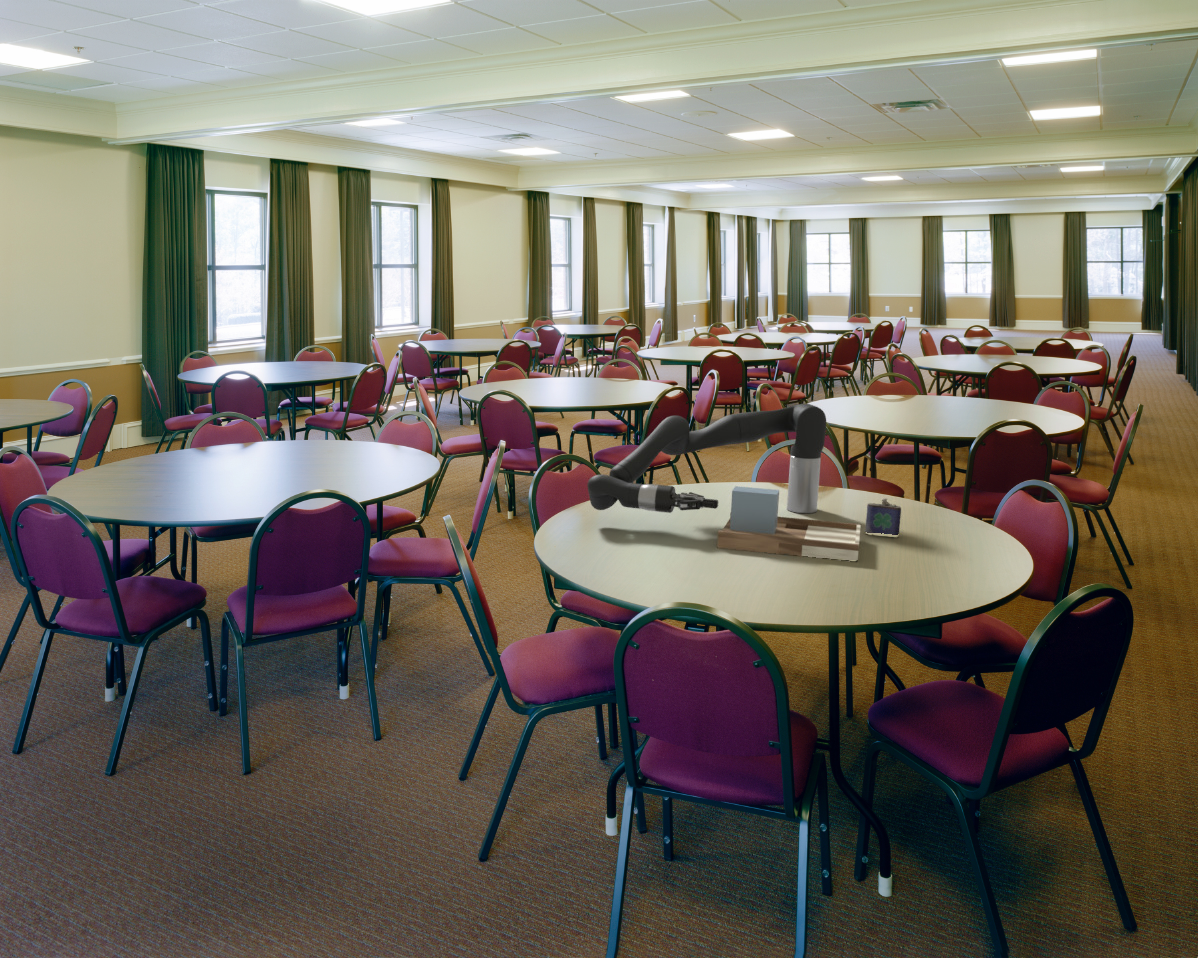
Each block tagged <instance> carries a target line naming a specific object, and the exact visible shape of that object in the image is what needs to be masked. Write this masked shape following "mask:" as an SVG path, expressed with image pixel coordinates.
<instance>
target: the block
mask: <svg viewBox="0 0 1198 958" xmlns="http://www.w3.org/2000/svg"><path fill="white" fill-rule="evenodd" d="M779 499H780V489H771V488H759V487H748V486H739V485H738V486H736V485H735V486H734V488H733V489H732V490H731V506H730V507H731V508H730V513H731V521H730V530H735V531H745V532H756V533H766V534H775V532H776V530H777V518H778V517H779V501H780V500H779Z"/></svg>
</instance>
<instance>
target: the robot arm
mask: <svg viewBox="0 0 1198 958" xmlns="http://www.w3.org/2000/svg"><path fill="white" fill-rule="evenodd" d="M826 430H827V417H826V413H825V412H824V411H823V409H821V408H820V407H818V406H816V405H813V404H810V403H800V404H795V405H792V406H788V407H783V408H779V409H773V410H759V411H757V410H756V411H748V412H747V411H746V412H740V413H739V412H738V413H733V414H732V413H731V414H728V415H725V416H723V417H721V418H720V419H718V420H716V421H713V423H710V424H709V425H708V426H706V427H704V428H701V429H697V430H692V431H691V428H690V424H689V422H688V420H687V418H684V417H683V416H681V415H670V416H667V417H666V418H665V419H663V420H662V421H661V422H660V423H659V424H658V425H657V426H656V427H655V428H654V430H653V431H652V432H651V433H649V435H648V436H647V437H646V438H645V439H644V440H643V442H642V443H641V444H640V445H638V447H636V448H635V449H634V450H633V451H632V452H630V454H628V455H627V456H626V457H625V458H623V459H622V460H621V461H620V462H618V463H617V464H616V465H614V466H613V467H612V468H611V469H610V470H609V475H608V474H596V475H593V476H591V477H590V478H589V479H588V481H587V486H586V487H587V491H588V496H589V501H590V504H591V506H592V508H594V509H595V510H597V511H604V510H608V509H610V508H611V507H612V506H614V505H615V504H616V502H619V504H620V505H621V506H622V507H623V508H628V509H629V508H631V509H639V510H644V511H650V512H656V513H657V512H659V513H667V514H671V513H673V512H674V509H675V508H678V509H679V510H680V511H691V510H693V511H695V510H700V509H704V508H707V509H718V507H719V500H718V499H712V498H706V497H705V496H704V495H702V494H698V493H695V492H692V491H691V492H680V493H677V492H676V488H675V487H674V486H672V485H664V484H663V485H662V484H654V483H653V484H652V483H645V484H644V483H643V484H642V483H635V482H636V481H637V480H638V479H639V478H640V477H641V476H643V474H644V473H645V472H646V471H647V470H648V469H649V467H650V466H651V464H652V463H653V462H654V460H655V459H656V458H657V457H658V455H659V454H660V453H661V452H662V453H663V454H665V455H669V456H680V455H684V454H689V453H693V452H697V451H701V450H702V451H703V450H706V449H710V448H718V447H723V446H729V445H739V444H746V443H752V442H757V441H759V440H762V439H764V438H767V437H769V436H771V435H776V434H781V433H795V441H794V444H793V445H792V446H791V447H790V455H789V458H790V459H789V471H788V474H789V475H788V487H787V488H788V489H787V502H786V510H787V511H789V512H793V513H798V514H813V513H816V512H817V510H818V499H819V485H820V475H821V474H820V473H821V458H822V451H823V449H824V446H825V439H826V432H827V431H826Z"/></svg>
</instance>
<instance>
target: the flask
mask: <svg viewBox="0 0 1198 958" xmlns="http://www.w3.org/2000/svg"><path fill="white" fill-rule="evenodd" d="M866 505H867V506H866V507H867V509H866V519H865V528H864V529H865V530H864V533H865V532H867V533H881V534H882V533H884V534H892V535H898V534H899V535H900V529H901V527H900V525H901V517H902V514H901V513H902V507H901V506H900V505H896V504H895V503H890V502H888V498H883V499H882V500H881V503H871V502H868V503H867V504H866Z"/></svg>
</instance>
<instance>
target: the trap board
mask: <svg viewBox="0 0 1198 958" xmlns="http://www.w3.org/2000/svg"><path fill="white" fill-rule="evenodd" d="M730 521H731V512H730V515H729V519H728V520H727V522H726V524H725V525H724V526H723V528H722V529H721V530H717V531H718V532H717V546H716V548H717V547H718V549H719V548H720V549H726V548H728V549H727V550H735V549H736V551H745V550H746V552H756V553H764V552H767V553H766V554H774V553H776V554H777V555H783V554H789V555H788V556H793V555H797V556H796V557H802V556H808V557H807V558H812V557H816V558H815V559H822V558H832V559H844V560H859V551H860V550H859V548H860V537H861V523H854V522H853V523H850V522H841V521H830V520H819V519H818V520H817V519H807V518H799V517H798V518H797V517H787V516H785V517H784V516H778V518H777V530H776V532H775V534H766V533H756V532H745V531H735V530H730ZM776 554H775V555H776Z"/></svg>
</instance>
